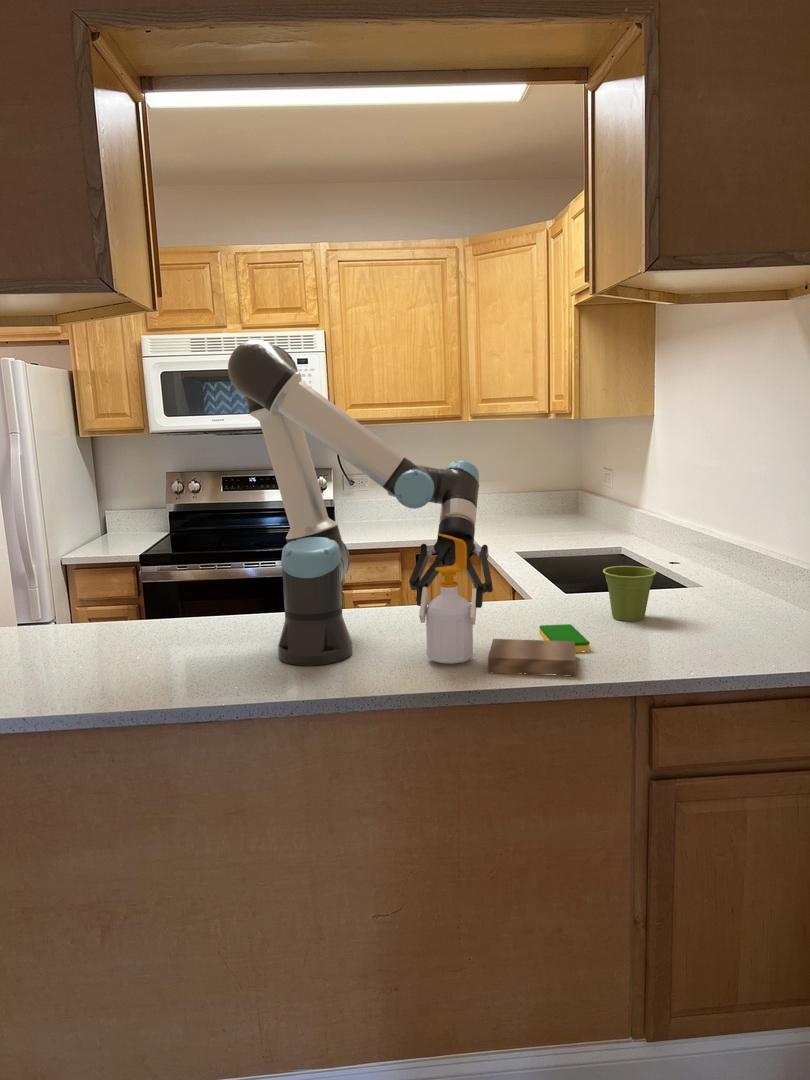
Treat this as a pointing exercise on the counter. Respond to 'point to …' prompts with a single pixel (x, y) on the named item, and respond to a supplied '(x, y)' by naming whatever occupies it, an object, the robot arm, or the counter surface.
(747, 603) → the counter surface
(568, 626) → the dish sponge
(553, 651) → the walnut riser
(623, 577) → the plant pot
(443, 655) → the soap bottle
